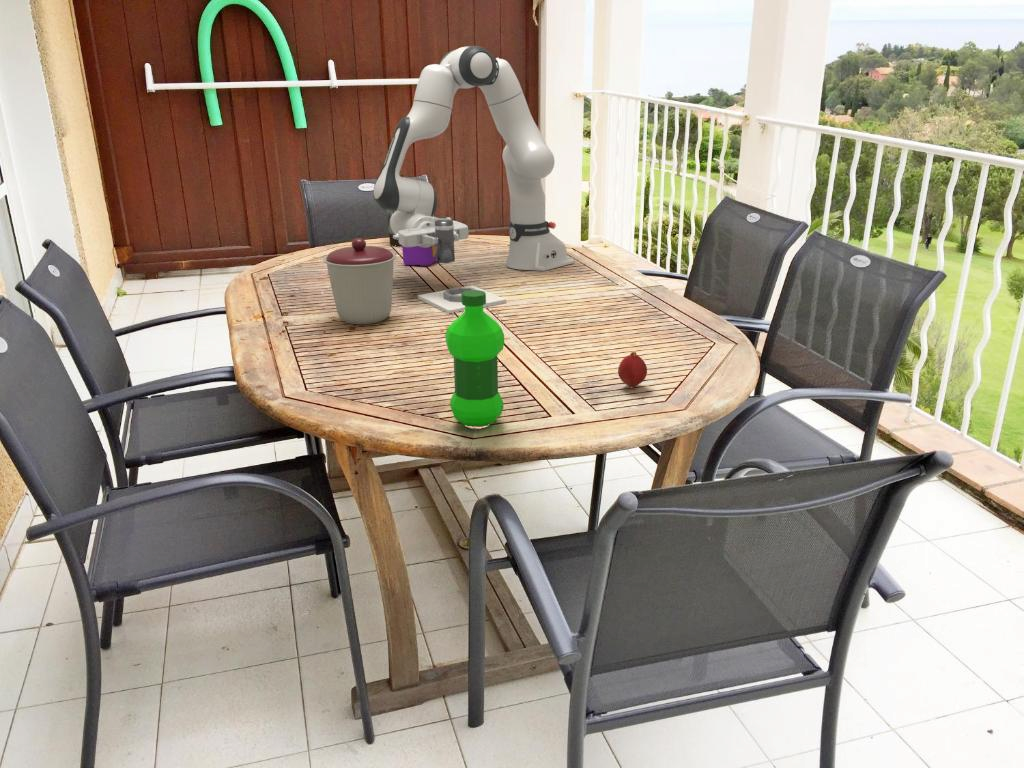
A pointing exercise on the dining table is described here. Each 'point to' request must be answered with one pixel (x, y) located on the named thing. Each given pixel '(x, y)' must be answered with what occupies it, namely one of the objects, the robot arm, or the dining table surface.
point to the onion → (632, 370)
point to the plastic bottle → (475, 362)
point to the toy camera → (419, 255)
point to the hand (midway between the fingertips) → (446, 239)
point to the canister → (361, 282)
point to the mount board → (457, 305)
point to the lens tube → (445, 241)
